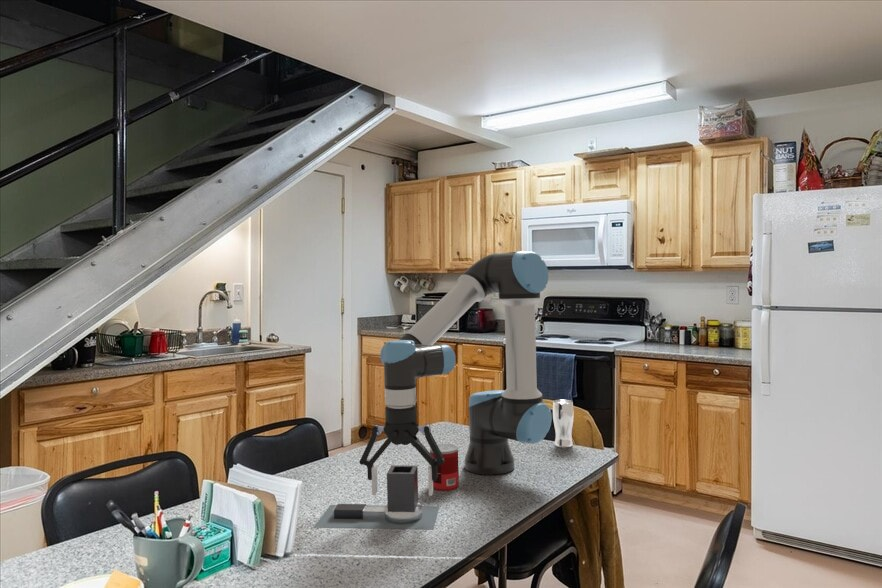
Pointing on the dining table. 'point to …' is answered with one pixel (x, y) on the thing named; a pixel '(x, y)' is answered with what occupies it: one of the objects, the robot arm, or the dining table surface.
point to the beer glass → (563, 422)
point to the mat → (378, 521)
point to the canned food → (447, 468)
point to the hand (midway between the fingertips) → (402, 493)
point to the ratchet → (376, 513)
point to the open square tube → (402, 488)
